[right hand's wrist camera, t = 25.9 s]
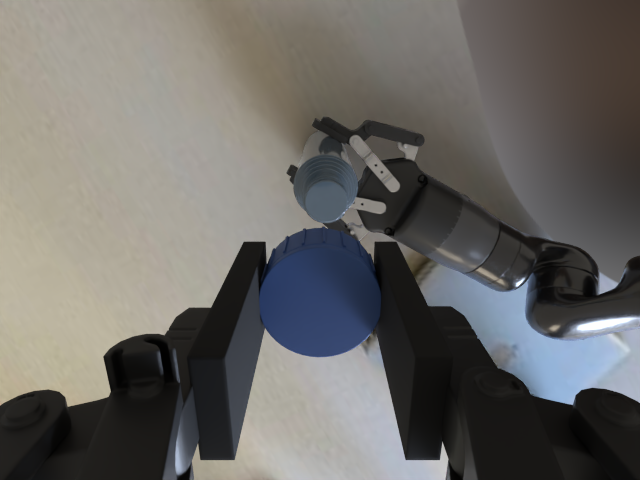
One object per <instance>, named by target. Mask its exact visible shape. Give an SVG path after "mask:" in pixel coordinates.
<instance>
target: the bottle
mask: <svg viewBox="0 0 640 480" xmlns="http://www.w3.org/2000/svg"><path fill="white" fill-rule="evenodd" d="M357 191H358V181H357V177H356V174H355V171H354V169H353V166H352V164H351V161H350V158H349V156H348V153H347V151H346V148H345V146H344V144H343V143H341V142H339V141H338V140H336V139H334V138H332V137H330V136H329V135H327V134H325V133H323V132H322V131H317V132H315V133H313V134H312V135H311V136H310V137H309V138H308V140H307V141H306V144H305V147H304V150H303V153H302V156H301V160H300V163H299V166H298V169H297V172H296V175H295V178H294V194H295V197H296V200H297V201H298V203H299V205H300V206H301V207H302V208H303V209H304V210H305V211H306V212H307V213H308V215H309V216H310V217H311V218H312V219H314V220H316V221H318V222H321V223H332V222H335V221H337V220H339V219H341V218H342V217H343V216H344V213H345V211H346V210H347V209H348V208H349V207H350V206H351V205H352V204H353V202H354V200H355V198H356V195H357Z"/></svg>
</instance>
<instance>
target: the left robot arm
mask: <svg viewBox="0 0 640 480" xmlns="http://www.w3.org/2000/svg"><path fill="white" fill-rule="evenodd" d="M312 126H313V127H315V128H316V129H318V130H320V131H322V132H323V133H325V134H327V135H329V136H330V137H332V138H334V139H336V140H338V141H339V142H341V143H343V144H344V145H345V144H346V143H347V144H349V145H351V147H352V148H353V149H354V150H355V151H356V152H357V153H358V155H359V156H360V157H361V158H362V159H363V161H364V162H365V163H366V164H367V166H366V168H365V169H364V171H363V175H362V178H361V179H360V180H359V181H358V191H357V195H356V198H355V200H354V203H353V204H352V205H351V206H350V207H349V208H353V209H357V211H358V214H359V216H360V218H361V220H362V222H363V224H362V225H356V224H355V223H348V224H346V223H345V222H344V221H343V220H342V219H339V220H337V221H335V222H332V223H323V224H324V225H325V226H326V227H327V228H328V229H333V230H337V231H340V232H341V231H344V233H345V234H347V235H349V236H351V237H352V238H354V239H355V240H356V241H357V240H359V241H360V240H361V239H362V238H363V237H365V236H366V235H367V234H368V233H369V232H379V233H383V234H385V235H387V236H389V237H391V238H393V239H395V240H397V241H398V242H400V243H402V244H404V245H406V246H408V247H410V248H411V249H413V250H415V251H417V252H419V253H421V254H423V255H424V256H426V257H428V258H430V259H432V260H434V261H435V262H437V263H439V264H441V265H444V266H446V267H449V268H451V269H454V270H457V271H459V272H461V273H463V274H464V275H466V276H468V277H470V278H472V279H474V280H476V281H477V282H479V283H481V284H483V285H485V286H487V287H489V288H491V289H493V290H496V291H499V292H510V291H513V290H516V289H517V288H519V287H521V286H522V285H523V284H524V283H525V282H526V281H527V280H528V287H527V298H526V306H525V316H526V320H527V322H528V324H529V325H530V326H531V327H532V328H533V329H534V330H535V331H537V332H538V333H540V334H542V335H544V336H546V337H549V338H552V339H557V340H581V339H587V338H592V337H597V336H601V335H605V334H610V333H615V332H620V331H626V330H632V329H638V328H640V256H637V257H634V258H632V259H630V260H629V261H628V263H627V264H626V266H625V269H624V272H623V275H622V278H621V280H620V283H619V284H618V285H617V287H615V288H614V289H612V290H610V291H608V292H605V293H603V294H600V295H599V269H598V266H597V264H596V262H595V261H594V260H593V258H592V257H591V256H590V255H589V254H588V253H587V252H585V251H584V250H582V249H581V248H578V247H576V246H573V245H569V244H565V243H560V242H556V241H552V240H548V239H545V238H541V237H537V236H533V235H529V234H525V233H522V232H521V231H519V230H517V229H516V228H514V227H512V226H510V225H509V224H507V223H505V222H503V221H502V220H500V219H498V218H496V217H495V216H494V215H492V214H491V213H489V212H488V211H487V210H486V209H484V208H483V207H482V206H481V205H479V204H477V203H476V202H474V201H472V200H471V199H469V198H468V197H467V196H466V195H463V194H460V193H458V192H457V191H455V190H453V189H452V188H450V187H448V186H446V185H445V184H443V183H441V182H440V181H438V180H436V179H434V178H433V177H431V176H429V175H427V174H426V173H424V172H422V171H421V170H420V169H419V168H418V166H417V164H416V163H415V162H414V160H415V157H416V154H417V151H418V148H419V146H421V145H423V143H424V137H423V135H421V134H419V133H417V132H414V131H410V130H406V129H402V128H398V127H394V126H391V125H387V124H383V123H379V122H375V121H371V120H366V121H365V122H364V123H363V124H362V125H361V126H360V127H359V128H357V129H356V130H350V129H348V128H346V127H344V126H343V125H341V124H339V123H337V122H336V121H334V120H332V119H331V118H329V117H323V118H322V120H321V121H320V120H318V119H316V118H315V120H314V122H313V124H312ZM371 135H373V136H377V137H381V138H385V139H389V140H393V141H397V147H398V149H400V150H401V151H403V152H404V157H403V158H395V159H387V160H379V158H378V157H377V156H376V155H375V154H374V153H373V151H372V150H371V149H370V148H369V147H368V146H367V144H366V143H365V142H364V141H365V140H366V139H367V138H368V137H370V136H371ZM297 169H298V168H297V167H295V166H294V165H290V167H289V169H288V171H287V174H288V175H290V176H291V178H290V181H291V182H292V184H294V178H295V175H296V172H297Z"/></svg>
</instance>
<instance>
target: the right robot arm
mask: <svg viewBox="0 0 640 480" xmlns="http://www.w3.org/2000/svg"><path fill="white" fill-rule="evenodd" d="M265 264H267V261H266V242H244V243H243V245H242V247H241V249H240V251H239V253H238V255H237V257H236V259H235V261H234V263H233V265H232V267H231V269H230V271H229V273H228V275H227V277H226V279H225V281H224V283H223V285H222V287H221V289H220V291H219V293H218V295H217V297H216V299H215V301H214V303H213V305H212V307H211V308H188V309H187V310H185V311H184V312H183V313H181V314H180V315H178V316H177V317H176V318H175V320H174V321H173V323H172V324H171V326H170V328H169V331H167V332H166V334H165V336H164V335H161V334H144V335H139V336H134V337H131V338H128V339H126V340H123V341H121V342H119V343H118V344H116V345H115V346H113V347H112V348H110V349H109V350H108V352H107V353H106V354H105V355H104V362H105V366H106V371H107V375H108V380H109V384H110V389H111V393H110V395H109V397H107V398H104V399H100V400H97V401H93V402H88V403H84V404H79V405H74V406H70V407H68V406H67V403H66V399H65V397H64V396H63V395H62V394H61V393H60V392H57V391H52V390H40V391H33V392H29V393H26V394H23V395H20V396H17V397H15V398H13V399H11V400H9V401H7V402H5V403H3V404H2V405H1V406H0V480H194V474H193V467H192V459H193V456H194V453H195V450H196V447H197V444H198V445H199V452H200V460H235V456H236V451H237V447H238V443H239V438H240V434H241V430H242V425H243V421H244V417H245V412H246V408H247V403H248V399H249V395H250V390H251V386H252V382H253V377H254V373H255V369H256V364H257V360H258V356H259V351H260V347H261V342H262V338H263V334H264V329H265V326H264V325H263V322H262V320H261V317H260V304H259V291H260V287H261V283H260V281H261V277H262V274H263V271H264V268H265ZM374 267H375V270H376V272H375V273H376V277H377V280H378V283H379V287H380V290H381V309H380V317H379V320H378V323H377V325H376V327H375V328H376V333H377V337H378V341H379V346H380V350H381V354H382V359H383V363H384V367H385V372H386V376H387V381H388V385H389V389H390V394H391V398H392V402H393V407H394V411H395V415H396V420H397V424H398V428H399V433H400V437H401V442H402V446H403V450H404V455H405V459H406V460H440V454H441V447H442V441H443V444H444V447H445V450H446V453H447V456H448V459H449V460H448V467H447V474H446V480H640V403H639V402H637V401H635V400H633V399H631V398H629V397H627V396H625V395H623V394H620V393H618V392H614V391H610V390H607V389H598V388H590V389H585V390H581V391H580V392H579V393H578V394H577V395H576V397H575V400H574V404H573V405H569V404H565V403H560V402H556V401H551V400H546V399H542V398H539V397H535V396H532V395H530V392H529V390H528V389H527V387H526V386H525V384H524V383H523V382H522V381H521V380H519V379H518V378H517V377H515V376H514V375H513V374H510V373H508V372H506V371H504V370H502V369H498V368H497V367H496V365H495V363H494V362H493V360H492V359H491V357H490V356H489V354H488V352H487V351H486V349H485V348H484V346H483V344H482V343H481V341H480V340H479V339H477V335H476V333H475V332H474V330H473V329H471V326H470V324H469V322H468V321H467V319H466V318H465V316H464V315H462V314H461V313H460V312H458V311H457V310H455V309H454V308H453V307H451V306H428V305H427V303H426V301H425V299H424V297H423V295H422V292H421V290H420V288H419V286H418V284H417V282H416V280H415V278H414V276H413V274H412V272H411V270H410V268H409V266H408V264H407V262H406V260H405V258H404V256H403V254H402V252H401V250H400V248H399V246H398V244H397V242H375V247H374Z"/></svg>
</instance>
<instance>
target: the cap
mask: <svg viewBox="0 0 640 480" xmlns="http://www.w3.org/2000/svg"><path fill="white" fill-rule="evenodd" d="M375 272H376V270H375V267H374V264H373V260H372V257H371V254H368V253H367V251H366V250H365V249H364V248H363V246H362V245H361V244H360V241H359V240H357V241H356V240H355V239H354V238H352V237H351V236H349V235H347V234H345V233H344V231H341V232H340V231H337V230H333V229H327V228H325V227H322V228H313V229H307V230H306V229H303V231H300V232H298V233H295V234H293V235H291V236H290V237H288V236H287V237H286V239H285V240H284V241H283V242H281V243H280V244H279V245H278V246H277V248H276V249H275V248H274V249H273V251H272V254H271V257H270V259H269V261H268V264H265V268H264V271H263V274H262V277H261V281H260V283H261V287H260V291H259V304H260V317H261V320H262V322H263V325H264V326H265V328H266V330H267V331H268V332H269V334H270V335H271V336H272V337H273V338H274V339H275V340H276V341H277V342H278V343H279V344H281V345H282V346H284V347H285V348H287V349H289V350H291V351H293V352H295V353H298V354H301V355H305V356H311V357H329V356H335V355H339V354H342V353H345V352H347V351H349V350H351V349H353V348H355V347H357V346H358V345H360V344H361V343H362V342H363V341H364V340H366V339H367V337H368V336H369V335H370V334H371V333H372V331H373V330H374V328H375V327H376V325H377V323H378V320H379V317H380V309H381V290H380V287H379V283H378V280H377V277H376V273H375Z"/></svg>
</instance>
